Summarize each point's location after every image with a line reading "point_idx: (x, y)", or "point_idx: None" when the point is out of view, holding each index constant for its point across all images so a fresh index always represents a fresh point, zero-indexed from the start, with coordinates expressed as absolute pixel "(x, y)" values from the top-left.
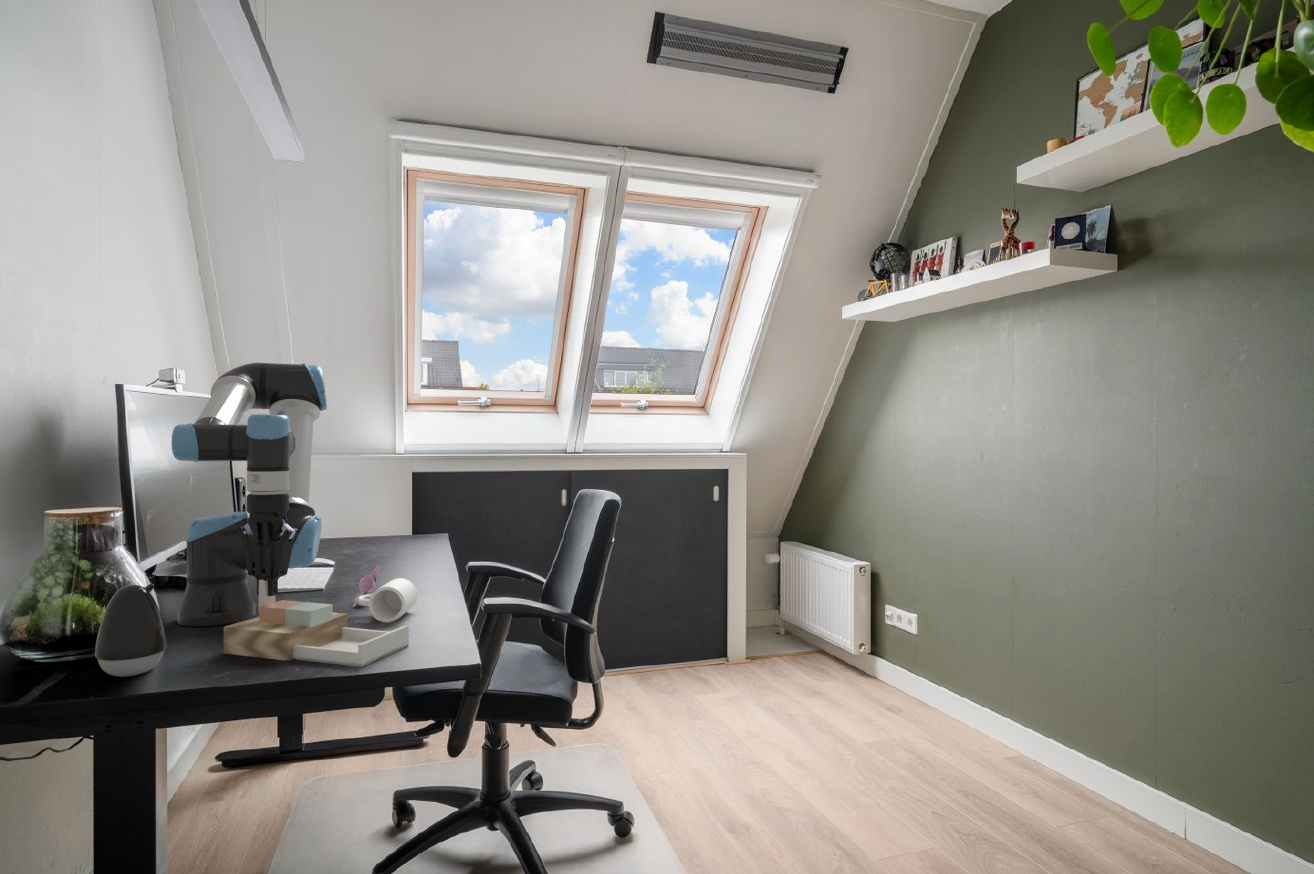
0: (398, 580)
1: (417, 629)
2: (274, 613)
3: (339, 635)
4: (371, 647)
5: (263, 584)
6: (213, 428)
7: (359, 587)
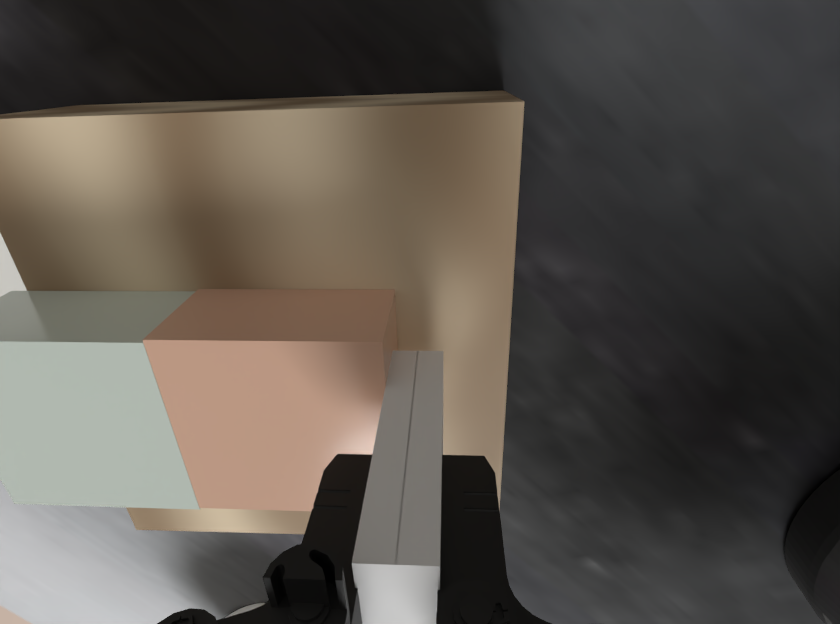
0: None
1: (92, 569)
2: (251, 320)
3: None
4: None
5: (377, 523)
6: None
7: None
